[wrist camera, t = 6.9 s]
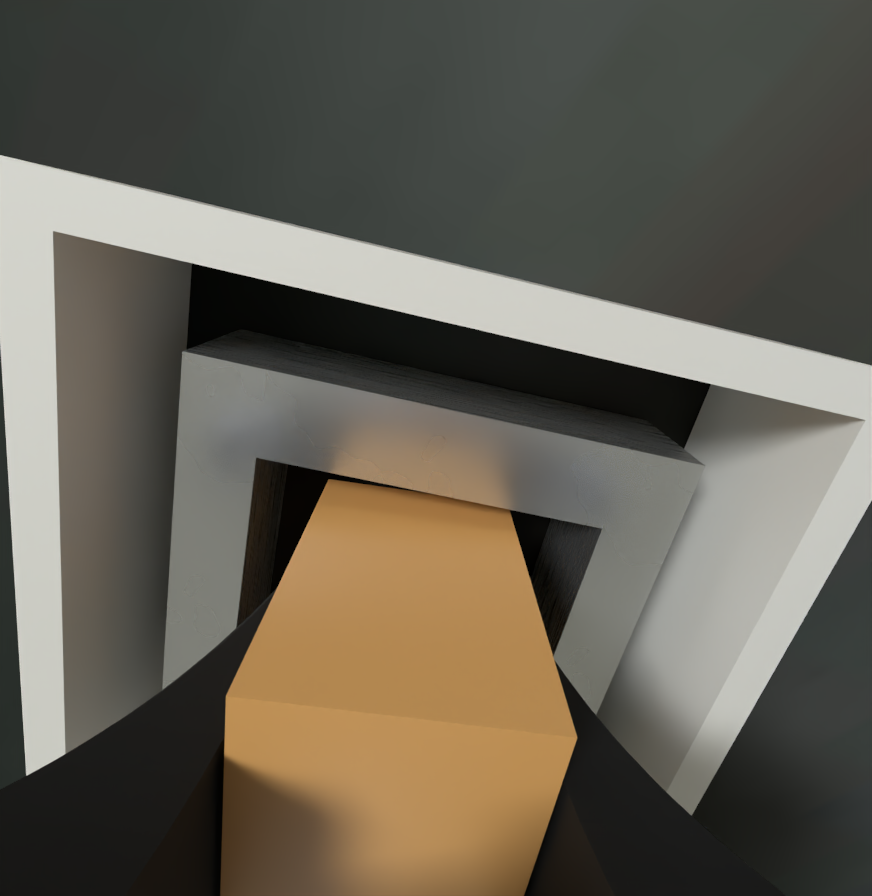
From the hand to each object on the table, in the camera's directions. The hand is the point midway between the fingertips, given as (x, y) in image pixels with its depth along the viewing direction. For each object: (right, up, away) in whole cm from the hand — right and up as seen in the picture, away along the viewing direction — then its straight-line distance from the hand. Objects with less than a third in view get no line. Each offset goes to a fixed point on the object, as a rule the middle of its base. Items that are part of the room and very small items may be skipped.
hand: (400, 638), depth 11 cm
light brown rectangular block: (0, +1, +1) cm, 2 cm away
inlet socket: (0, +1, +3) cm, 3 cm away
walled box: (0, +1, +3) cm, 3 cm away
